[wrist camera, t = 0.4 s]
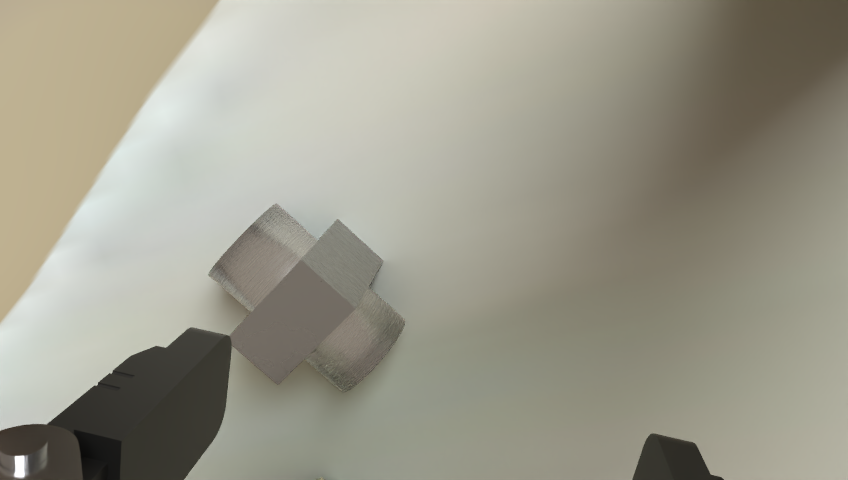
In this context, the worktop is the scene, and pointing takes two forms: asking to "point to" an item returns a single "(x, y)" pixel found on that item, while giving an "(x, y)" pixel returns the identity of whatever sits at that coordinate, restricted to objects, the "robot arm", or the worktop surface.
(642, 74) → the worktop surface
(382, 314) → the coupling
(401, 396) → the worktop surface
